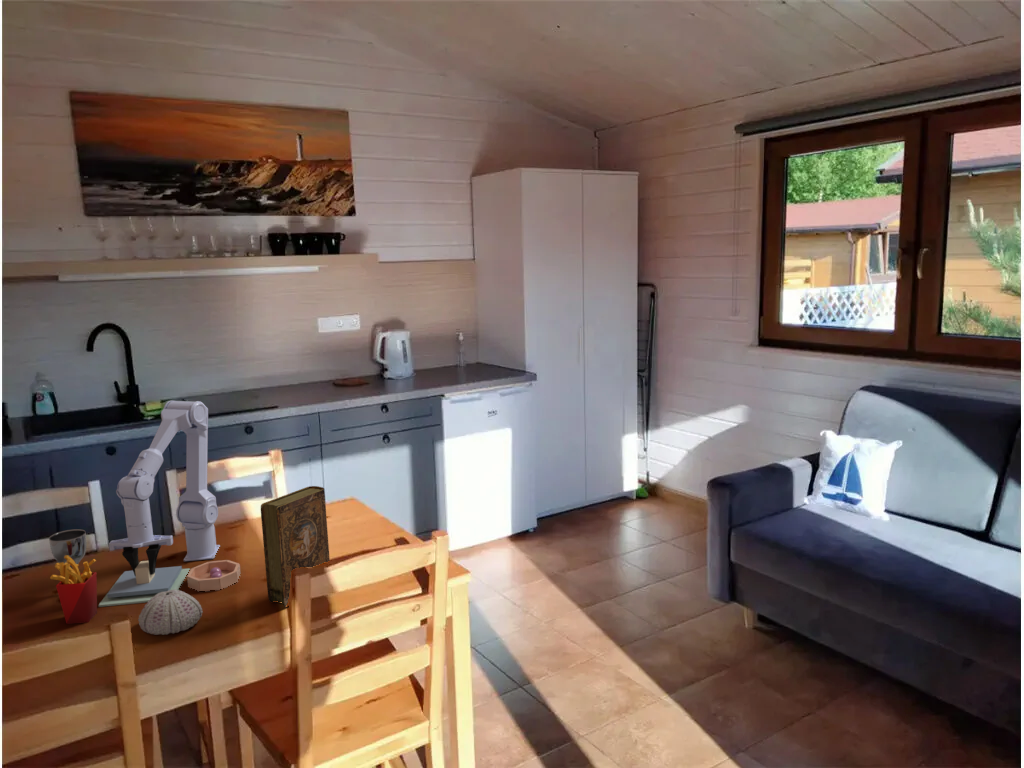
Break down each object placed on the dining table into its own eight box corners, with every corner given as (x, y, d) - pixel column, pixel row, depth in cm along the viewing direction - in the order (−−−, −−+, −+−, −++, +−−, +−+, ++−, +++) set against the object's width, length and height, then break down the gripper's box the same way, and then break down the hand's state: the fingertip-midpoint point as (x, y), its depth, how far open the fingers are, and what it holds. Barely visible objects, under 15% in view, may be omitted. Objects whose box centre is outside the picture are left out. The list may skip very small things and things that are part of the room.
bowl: (195, 573, 205) (194, 563, 204) (242, 569, 207) (241, 558, 206) (184, 593, 193) (183, 582, 192) (235, 588, 195) (234, 577, 194)
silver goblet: (56, 601, 191) (48, 543, 188) (57, 589, 198) (49, 533, 195) (92, 593, 194) (85, 536, 192) (93, 582, 201) (85, 527, 199)
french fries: (103, 610, 185) (95, 550, 182) (88, 627, 177) (80, 564, 174) (63, 613, 184) (55, 553, 181) (47, 630, 176) (38, 567, 173)
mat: (121, 576, 204) (121, 574, 204) (190, 570, 207) (189, 568, 207) (98, 607, 187) (98, 605, 187) (173, 599, 190) (173, 597, 190)
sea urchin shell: (146, 616, 182) (143, 584, 180) (208, 609, 184) (204, 577, 183) (133, 644, 169) (128, 609, 167) (199, 635, 172) (195, 601, 170)
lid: (125, 574, 202) (123, 556, 202) (182, 569, 205) (180, 551, 204) (107, 597, 189) (105, 578, 188) (168, 591, 191) (166, 572, 190)
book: (319, 578, 199) (311, 485, 195) (334, 583, 196) (327, 488, 192) (268, 604, 186) (259, 504, 181) (284, 609, 183) (275, 507, 178)
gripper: (102, 530, 189) (109, 583, 191) (165, 525, 191) (171, 577, 194) (111, 521, 196) (118, 571, 198) (172, 516, 198) (178, 566, 201)
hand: (145, 573), depth 196 cm, fingers closed on lid, 3 cm apart
